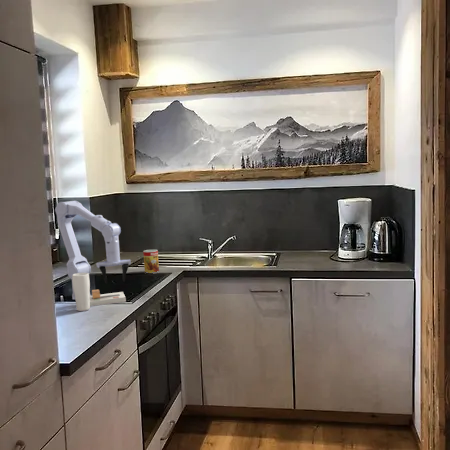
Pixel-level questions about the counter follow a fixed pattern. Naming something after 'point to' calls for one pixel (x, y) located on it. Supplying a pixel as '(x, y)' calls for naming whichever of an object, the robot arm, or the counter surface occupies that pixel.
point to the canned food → (151, 261)
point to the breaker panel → (108, 299)
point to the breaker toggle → (95, 293)
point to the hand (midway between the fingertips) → (115, 282)
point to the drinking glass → (81, 290)
